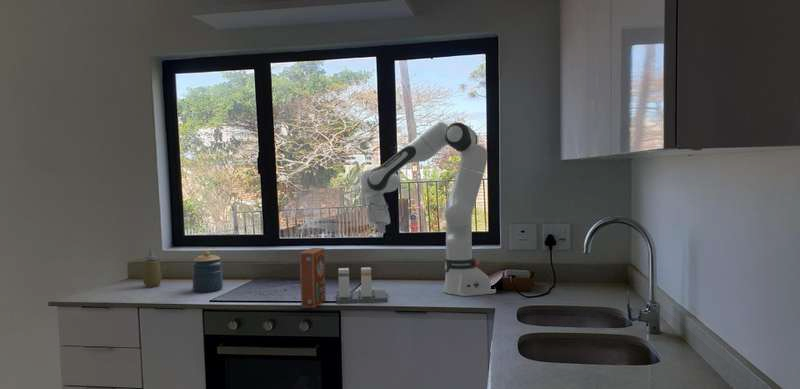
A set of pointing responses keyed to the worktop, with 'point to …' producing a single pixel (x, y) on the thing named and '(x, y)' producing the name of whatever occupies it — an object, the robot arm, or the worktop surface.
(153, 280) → the squeeze bottle
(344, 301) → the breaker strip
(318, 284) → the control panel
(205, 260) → the canister
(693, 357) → the worktop surface
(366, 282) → the breaker toggle
